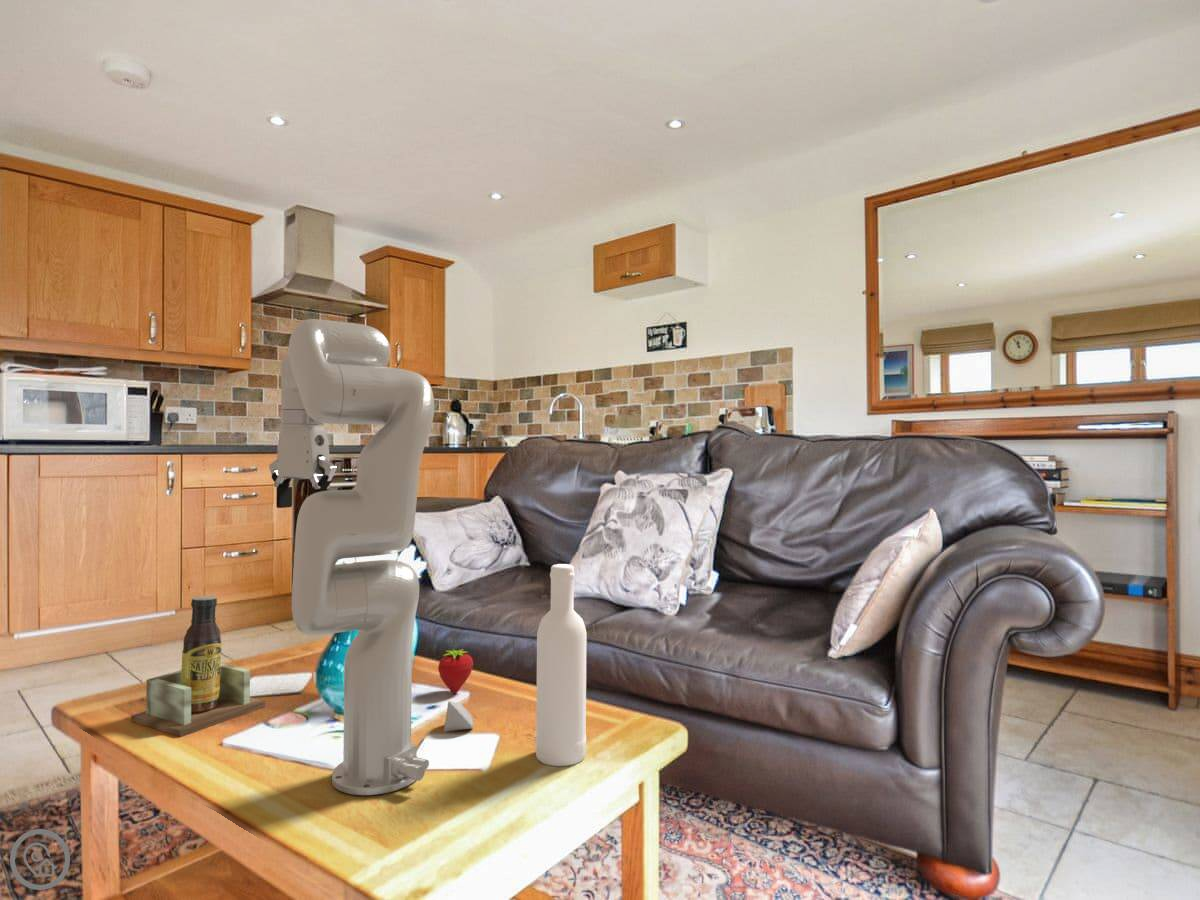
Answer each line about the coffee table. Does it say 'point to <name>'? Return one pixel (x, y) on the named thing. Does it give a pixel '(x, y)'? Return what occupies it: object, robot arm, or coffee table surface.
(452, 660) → the strawberry
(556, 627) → the bottle
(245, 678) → the rest
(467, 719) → the grey pyramid
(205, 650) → the sauce bottle
